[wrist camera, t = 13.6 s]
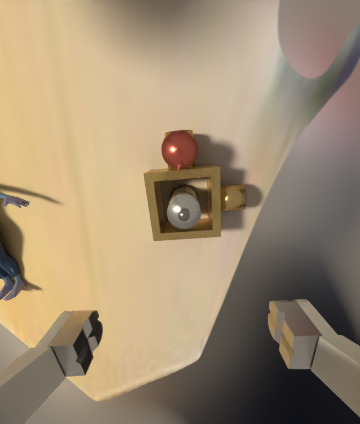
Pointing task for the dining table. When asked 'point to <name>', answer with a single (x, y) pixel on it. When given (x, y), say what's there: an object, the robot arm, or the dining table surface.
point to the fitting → (184, 169)
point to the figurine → (10, 260)
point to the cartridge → (184, 207)
